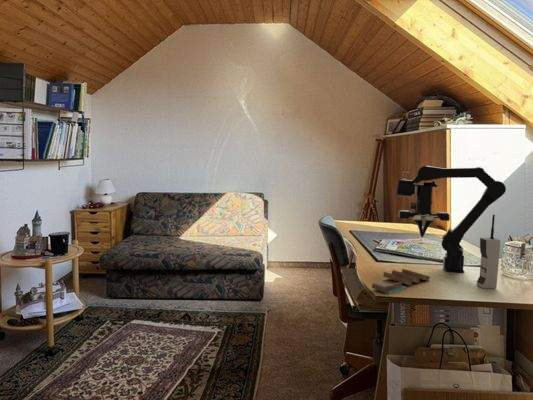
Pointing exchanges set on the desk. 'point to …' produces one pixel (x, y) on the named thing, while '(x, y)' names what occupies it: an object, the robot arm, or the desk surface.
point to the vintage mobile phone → (489, 260)
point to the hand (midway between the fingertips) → (421, 236)
